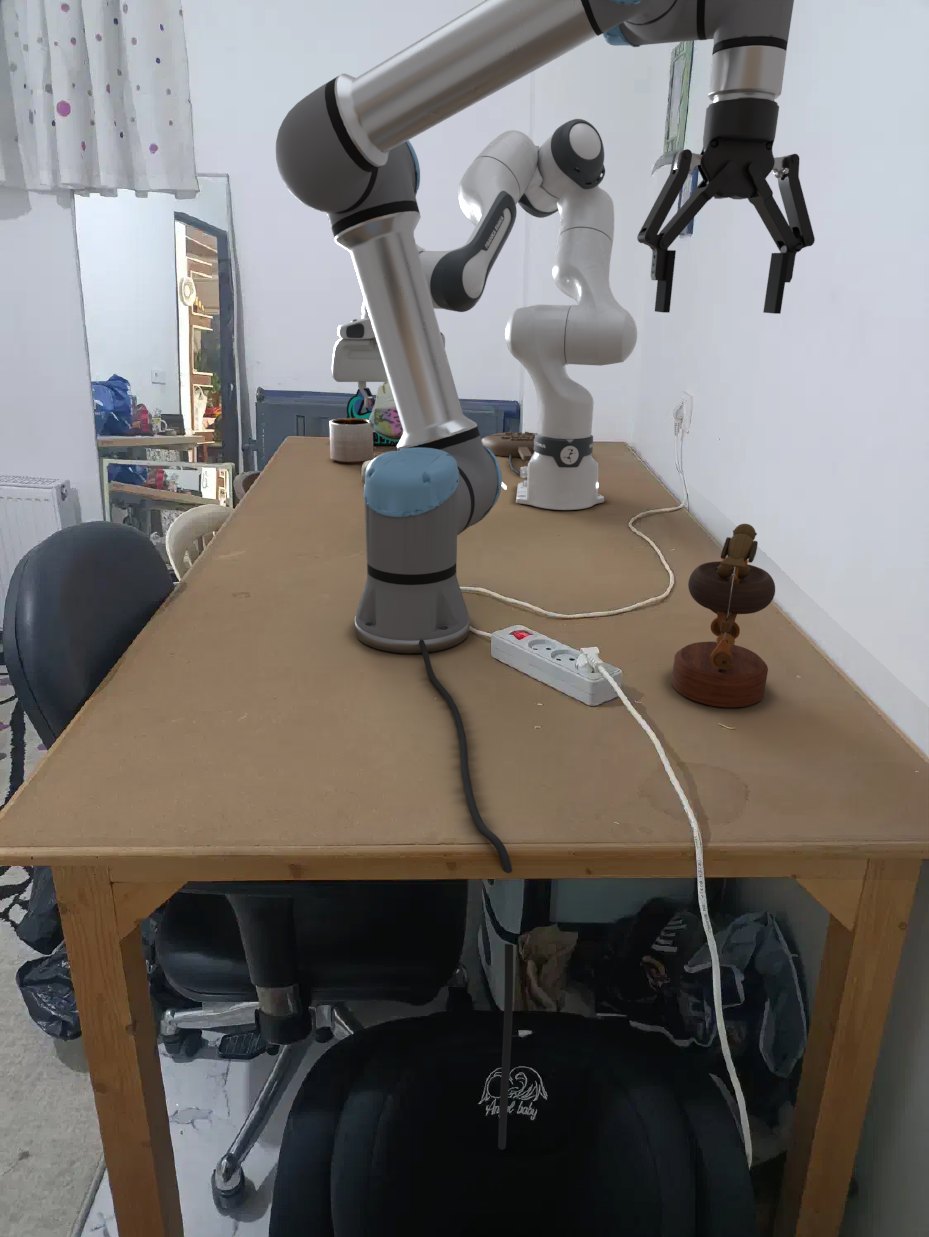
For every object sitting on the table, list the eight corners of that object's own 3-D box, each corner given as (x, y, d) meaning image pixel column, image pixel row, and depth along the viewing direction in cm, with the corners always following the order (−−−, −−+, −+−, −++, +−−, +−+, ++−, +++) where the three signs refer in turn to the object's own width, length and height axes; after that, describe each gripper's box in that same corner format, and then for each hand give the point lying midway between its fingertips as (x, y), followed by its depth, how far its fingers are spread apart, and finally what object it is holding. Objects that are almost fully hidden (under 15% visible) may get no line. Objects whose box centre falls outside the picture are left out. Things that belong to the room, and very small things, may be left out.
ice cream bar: (485, 466, 209) (486, 449, 208) (478, 444, 235) (479, 429, 234) (570, 466, 210) (571, 449, 209) (554, 445, 236) (554, 430, 235)
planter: (327, 456, 217) (325, 418, 214) (369, 454, 220) (368, 417, 217) (334, 465, 208) (332, 425, 204) (377, 463, 211) (376, 424, 207)
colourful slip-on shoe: (371, 443, 136) (369, 388, 133) (365, 421, 159) (364, 373, 156) (422, 443, 138) (422, 388, 134) (410, 420, 160) (410, 373, 157)
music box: (782, 717, 92) (796, 541, 85) (678, 718, 94) (683, 545, 86) (753, 658, 106) (763, 503, 99) (664, 660, 108) (667, 506, 100)
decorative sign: (398, 443, 235) (398, 388, 229) (397, 445, 232) (396, 389, 227) (331, 441, 236) (328, 386, 230) (329, 443, 233) (326, 387, 228)
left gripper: (830, 113, 96) (799, 312, 104) (619, 102, 92) (604, 310, 100) (870, 101, 89) (833, 315, 97) (644, 89, 85) (625, 313, 93)
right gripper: (442, 327, 155) (442, 404, 160) (329, 326, 152) (333, 405, 157) (447, 329, 149) (447, 409, 154) (330, 328, 146) (333, 410, 151)
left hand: (717, 313), depth 98 cm, fingers open, 13 cm apart
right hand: (388, 407), depth 155 cm, fingers closed on colourful slip-on shoe, 6 cm apart
